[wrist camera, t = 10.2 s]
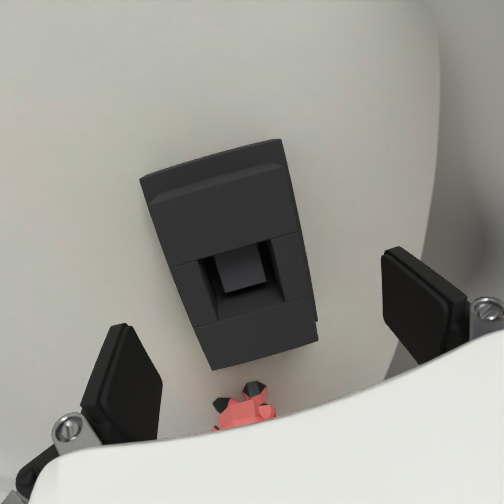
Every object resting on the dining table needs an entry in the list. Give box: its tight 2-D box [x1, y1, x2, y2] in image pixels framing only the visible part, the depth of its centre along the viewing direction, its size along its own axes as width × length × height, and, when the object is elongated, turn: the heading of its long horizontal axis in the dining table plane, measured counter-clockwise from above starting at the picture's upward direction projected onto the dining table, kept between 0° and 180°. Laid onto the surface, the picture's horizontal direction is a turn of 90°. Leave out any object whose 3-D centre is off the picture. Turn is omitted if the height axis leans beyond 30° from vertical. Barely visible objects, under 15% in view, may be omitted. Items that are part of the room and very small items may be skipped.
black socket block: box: [148, 162, 318, 371], centre depth 17 cm, size 10×6×3 cm, turn 14°
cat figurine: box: [211, 381, 276, 431], centre depth 19 cm, size 7×7×12 cm
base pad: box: [139, 139, 318, 352], centre depth 18 cm, size 12×8×4 cm, turn 14°
